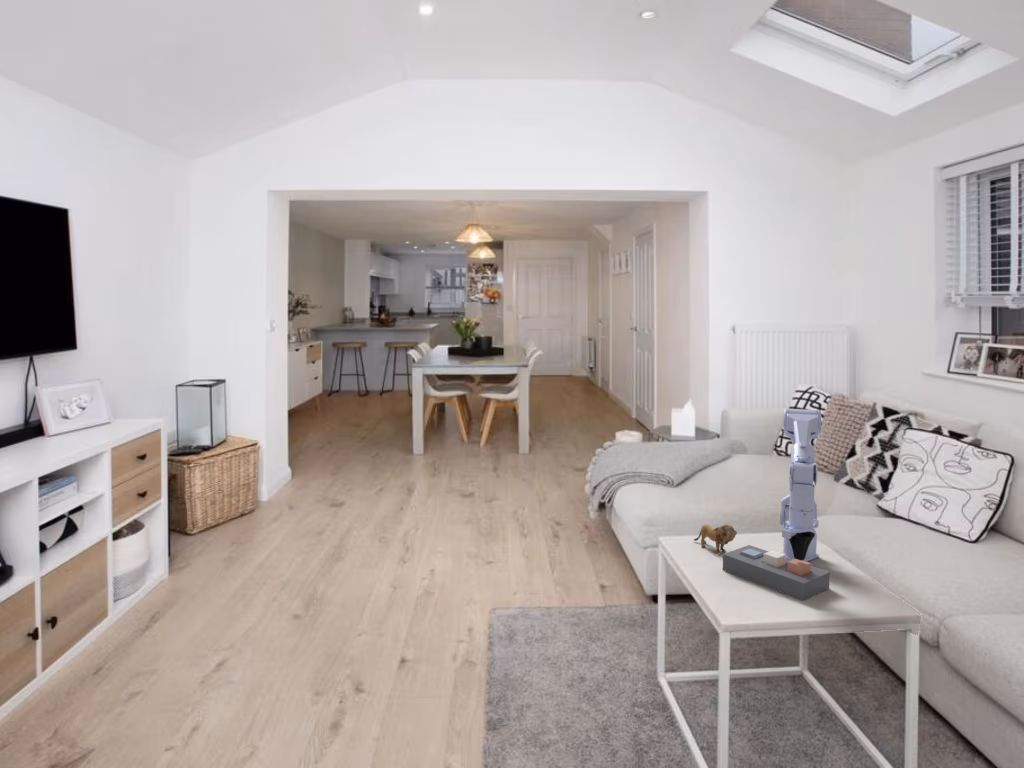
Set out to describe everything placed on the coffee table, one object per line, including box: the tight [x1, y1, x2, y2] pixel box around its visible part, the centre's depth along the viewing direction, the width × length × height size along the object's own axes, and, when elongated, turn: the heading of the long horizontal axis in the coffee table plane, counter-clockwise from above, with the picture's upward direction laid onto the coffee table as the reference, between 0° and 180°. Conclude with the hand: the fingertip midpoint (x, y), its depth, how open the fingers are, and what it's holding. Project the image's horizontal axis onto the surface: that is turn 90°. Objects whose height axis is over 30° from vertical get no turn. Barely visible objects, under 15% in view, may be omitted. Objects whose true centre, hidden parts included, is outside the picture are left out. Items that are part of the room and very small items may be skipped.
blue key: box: [741, 549, 762, 560], centre depth 176 cm, size 4×4×3 cm
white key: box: [763, 549, 786, 568], centre depth 170 cm, size 4×4×3 cm
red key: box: [787, 559, 812, 577], centre depth 164 cm, size 4×4×3 cm
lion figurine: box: [693, 523, 738, 554], centre depth 193 cm, size 15×5×9 cm, turn 36°
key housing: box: [722, 544, 831, 602], centre depth 171 cm, size 12×24×4 cm, turn 35°
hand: (799, 559), depth 164 cm, fingers closed
